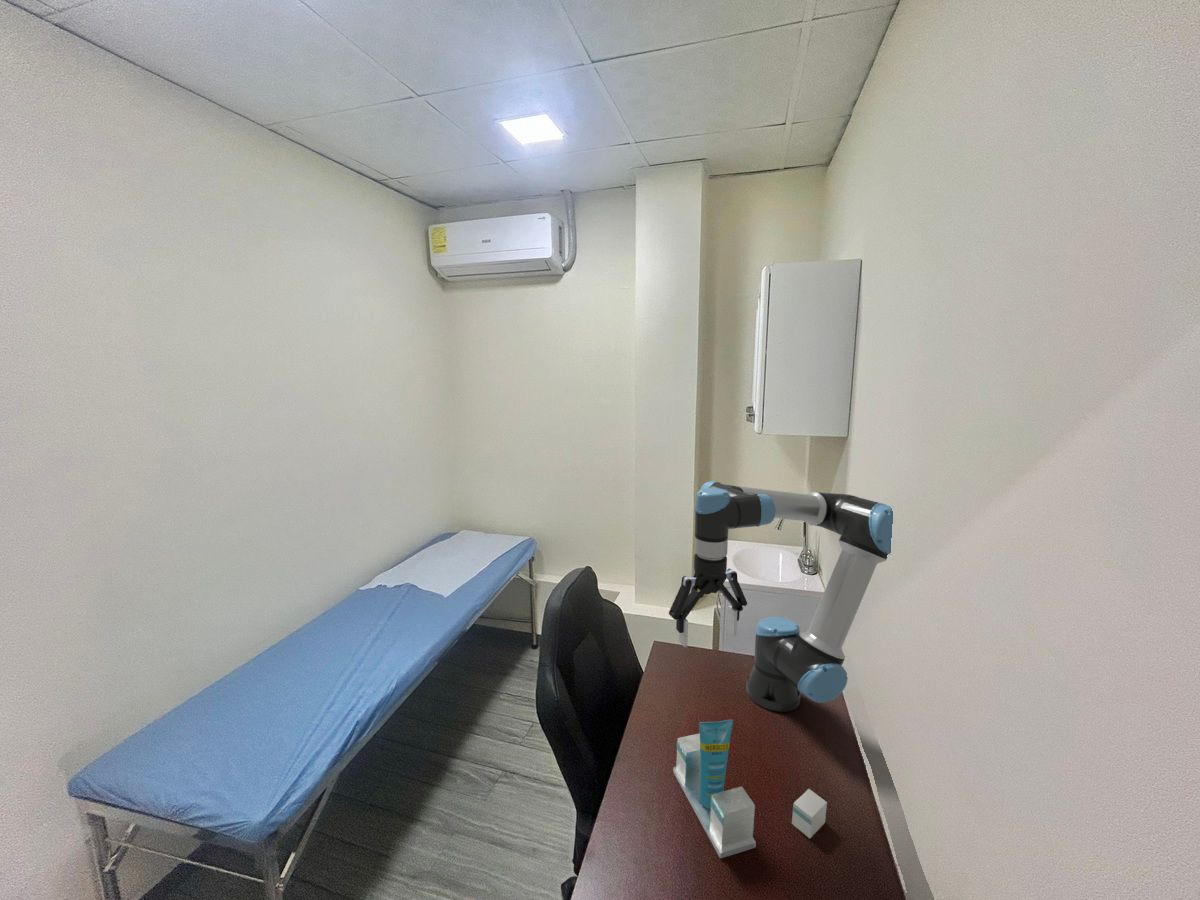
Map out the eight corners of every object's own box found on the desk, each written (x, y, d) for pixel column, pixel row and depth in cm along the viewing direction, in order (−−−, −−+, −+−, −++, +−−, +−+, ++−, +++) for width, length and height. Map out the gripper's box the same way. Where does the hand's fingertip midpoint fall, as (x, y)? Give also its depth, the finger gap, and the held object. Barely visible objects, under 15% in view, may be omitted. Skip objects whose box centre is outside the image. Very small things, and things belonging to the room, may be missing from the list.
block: (806, 808, 100) (808, 788, 100) (824, 823, 97) (827, 802, 97) (791, 824, 97) (793, 803, 96) (809, 839, 94) (811, 818, 93)
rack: (703, 764, 112) (705, 730, 110) (755, 847, 92) (758, 806, 90) (673, 771, 109) (674, 737, 108) (720, 858, 89) (722, 817, 88)
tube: (699, 813, 97) (704, 730, 95) (690, 793, 102) (694, 714, 100) (732, 807, 99) (737, 725, 96) (721, 788, 104) (726, 710, 101)
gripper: (744, 542, 116) (741, 621, 119) (655, 555, 107) (654, 640, 110) (764, 553, 109) (760, 636, 112) (670, 567, 100) (669, 657, 103)
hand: (707, 638), depth 111 cm, fingers open, 13 cm apart
